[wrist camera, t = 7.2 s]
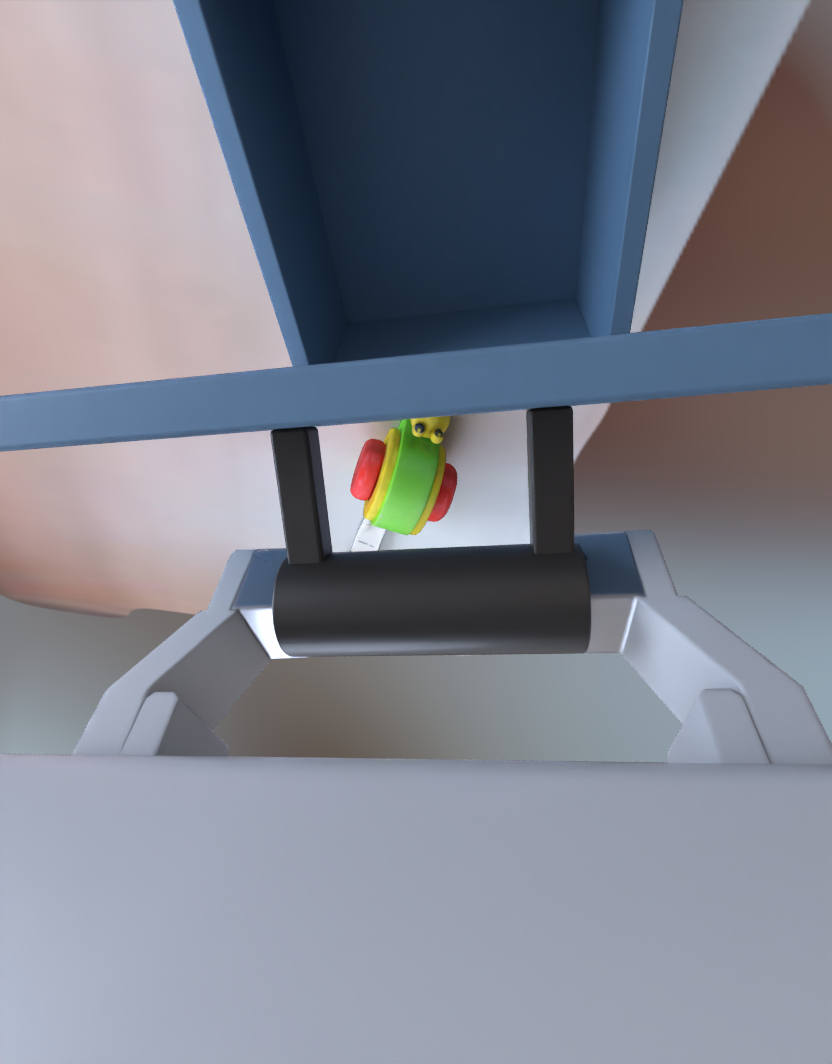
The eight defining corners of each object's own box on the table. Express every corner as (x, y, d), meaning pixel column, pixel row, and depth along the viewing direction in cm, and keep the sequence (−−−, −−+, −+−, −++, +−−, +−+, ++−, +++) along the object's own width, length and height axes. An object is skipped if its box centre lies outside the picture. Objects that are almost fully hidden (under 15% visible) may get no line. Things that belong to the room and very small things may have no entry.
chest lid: (-72, 402, 8) (15, 713, 9) (1021, 292, 6) (949, 716, 7) (304, 409, 23) (317, 519, 25) (624, 382, 21) (622, 503, 23)
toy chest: (240, -72, 19) (133, -116, 13) (633, -165, 17) (727, -269, 11) (340, 332, 30) (307, 413, 24) (587, 305, 28) (621, 386, 22)
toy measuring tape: (486, 398, 32) (489, 461, 28) (390, 576, 46) (381, 638, 41) (391, 362, 31) (379, 422, 27) (321, 556, 44) (304, 618, 40)
